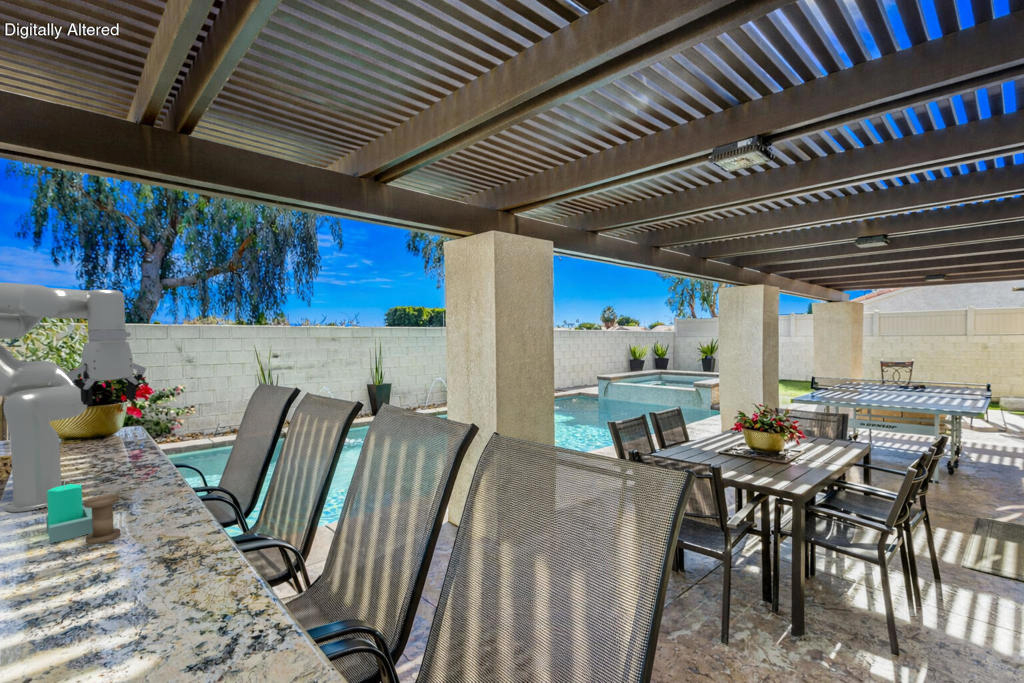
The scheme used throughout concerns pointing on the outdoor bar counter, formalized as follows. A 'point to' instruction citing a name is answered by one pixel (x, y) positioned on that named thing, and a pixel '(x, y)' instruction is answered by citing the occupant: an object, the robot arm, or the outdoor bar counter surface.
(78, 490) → the candle
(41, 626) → the outdoor bar counter surface
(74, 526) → the notch board
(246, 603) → the outdoor bar counter surface
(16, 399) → the robot arm
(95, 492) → the outdoor bar counter surface
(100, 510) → the bobbin
